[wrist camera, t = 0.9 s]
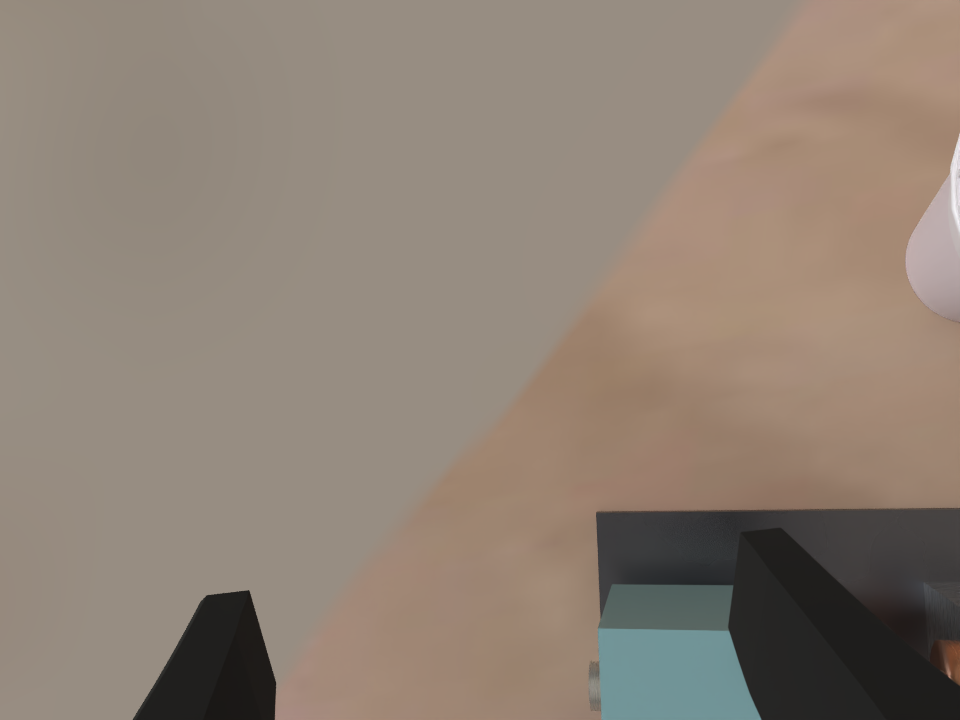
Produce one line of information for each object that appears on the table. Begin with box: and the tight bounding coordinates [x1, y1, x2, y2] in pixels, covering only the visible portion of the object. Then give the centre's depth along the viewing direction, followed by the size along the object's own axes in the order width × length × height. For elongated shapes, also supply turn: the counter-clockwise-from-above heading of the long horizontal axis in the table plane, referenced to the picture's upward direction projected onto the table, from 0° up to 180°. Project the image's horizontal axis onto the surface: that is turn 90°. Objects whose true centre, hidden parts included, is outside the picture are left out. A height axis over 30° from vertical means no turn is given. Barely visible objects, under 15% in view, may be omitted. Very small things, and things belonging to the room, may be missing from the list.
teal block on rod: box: [598, 584, 761, 720], centre depth 21 cm, size 4×4×5 cm
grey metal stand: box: [589, 508, 960, 711], centre depth 23 cm, size 8×11×6 cm
